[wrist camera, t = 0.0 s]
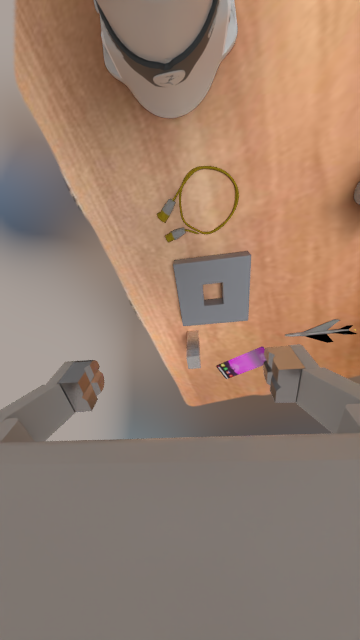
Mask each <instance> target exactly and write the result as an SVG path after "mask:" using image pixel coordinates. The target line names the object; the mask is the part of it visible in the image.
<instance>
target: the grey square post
mask: <svg viewBox="0 0 360 640" xmlns="http://www.w3.org/2000/svg"><path fill="white" fill-rule="evenodd" d="M187 363H188V369H193V368H201V363H200V343H199V334H198V331H187Z"/></svg>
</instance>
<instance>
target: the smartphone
mask: <svg viewBox="0 0 360 640" xmlns="http://www.w3.org/2000/svg"><path fill="white" fill-rule="evenodd" d="M264 350H265V349H264V347H260V348H257V349H255V350H253V351H250V352H248V353H245V354H243V355H241V356H238V357H236V358H234V359H231V360H229V361H226V362H224V363H222V364H219V365H217V366H216V367H217V368H218V369H219V371H220V372H221V373H222V374H223V376H224V377H225V378H226V379H228V378H231V377H233V376H236V375H239V374H241V373H244V372H247V371H249V370H252V369H254V368H257V367H260V366H262V365H263V363H264V361H265V360H266V358H265V356H264Z"/></svg>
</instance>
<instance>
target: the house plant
mask: <svg viewBox="0 0 360 640" xmlns="http://www.w3.org/2000/svg"><path fill="white" fill-rule="evenodd" d="M354 199H355V202H356V203H357V204H359V205H360V182H359V183H358V185H357V187H356V189H355V192H354Z"/></svg>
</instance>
